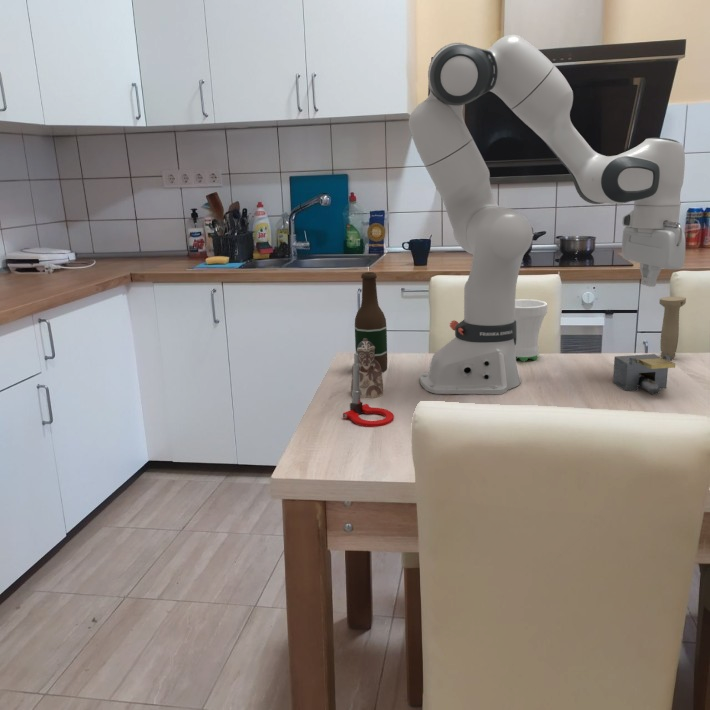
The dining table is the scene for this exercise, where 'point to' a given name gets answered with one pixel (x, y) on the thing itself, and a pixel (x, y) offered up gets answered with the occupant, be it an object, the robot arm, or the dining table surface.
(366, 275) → the beer bottle
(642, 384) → the orange piece
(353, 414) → the tow hook
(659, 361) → the keeper flap
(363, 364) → the figurine
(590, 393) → the dining table surface
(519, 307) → the cup
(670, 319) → the handle
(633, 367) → the block
